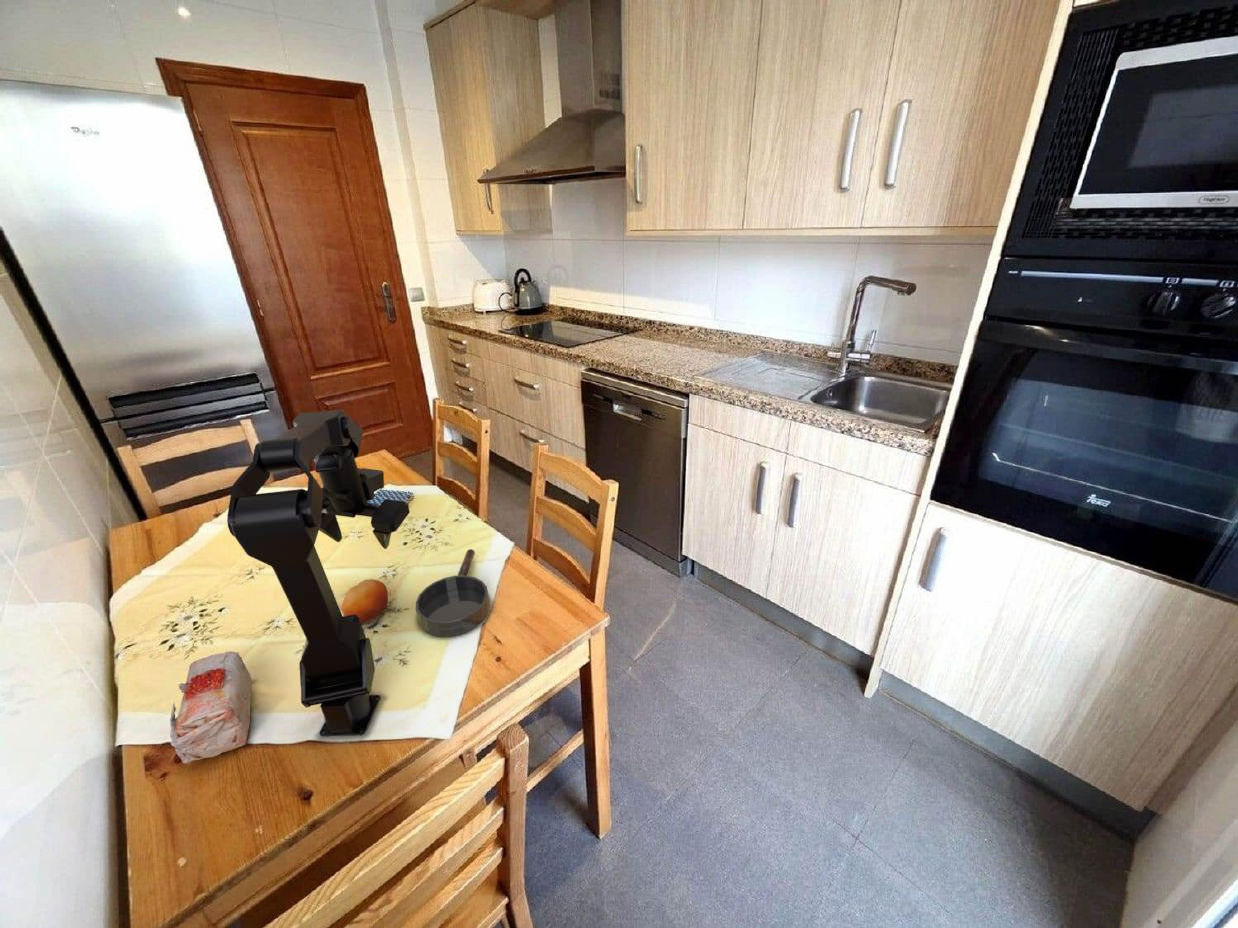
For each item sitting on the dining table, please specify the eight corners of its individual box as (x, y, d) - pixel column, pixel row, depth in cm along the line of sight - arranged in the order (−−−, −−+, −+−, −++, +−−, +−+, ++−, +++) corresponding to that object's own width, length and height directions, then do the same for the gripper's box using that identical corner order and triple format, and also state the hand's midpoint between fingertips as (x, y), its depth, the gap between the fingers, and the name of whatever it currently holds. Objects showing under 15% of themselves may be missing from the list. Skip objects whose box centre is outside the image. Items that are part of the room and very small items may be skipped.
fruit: (382, 628, 90) (353, 595, 87) (354, 639, 93) (325, 607, 90) (408, 598, 97) (381, 566, 95) (381, 609, 100) (354, 579, 98)
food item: (255, 748, 71) (231, 700, 67) (184, 777, 67) (154, 729, 63) (257, 679, 81) (237, 634, 77) (196, 701, 78) (171, 655, 73)
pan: (482, 636, 90) (480, 621, 89) (409, 638, 90) (405, 623, 88) (495, 588, 102) (493, 574, 100) (430, 589, 101) (427, 576, 100)
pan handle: (465, 583, 100) (464, 576, 100) (456, 583, 100) (455, 576, 100) (476, 554, 109) (475, 547, 108) (467, 554, 109) (466, 547, 108)
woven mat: (416, 497, 134) (415, 490, 133) (395, 518, 125) (393, 511, 124) (380, 493, 136) (379, 487, 135) (356, 514, 126) (355, 507, 125)
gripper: (415, 457, 91) (429, 521, 100) (318, 445, 92) (340, 509, 101) (384, 496, 82) (402, 562, 91) (276, 481, 83) (305, 548, 92)
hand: (363, 543), depth 94 cm, fingers open, 9 cm apart
